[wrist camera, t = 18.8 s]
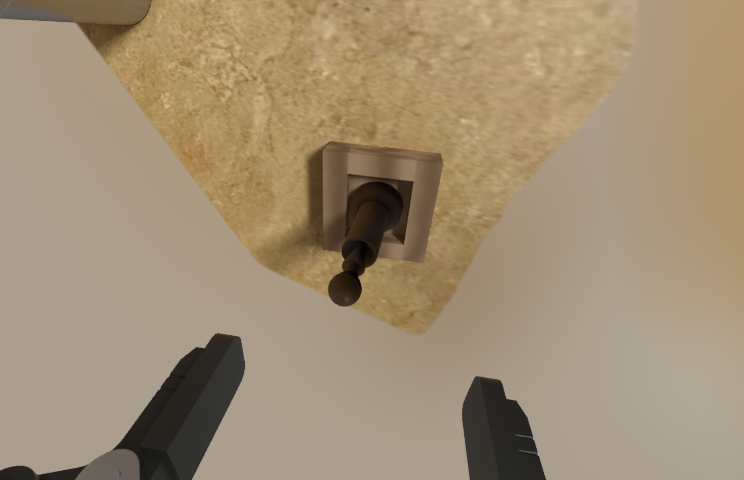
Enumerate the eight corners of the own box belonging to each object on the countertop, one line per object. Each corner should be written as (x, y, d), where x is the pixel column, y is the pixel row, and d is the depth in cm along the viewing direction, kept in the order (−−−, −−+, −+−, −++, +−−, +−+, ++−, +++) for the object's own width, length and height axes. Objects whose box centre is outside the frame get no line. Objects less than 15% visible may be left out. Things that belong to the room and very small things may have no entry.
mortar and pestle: (364, 228, 45) (323, 328, 31) (346, 188, 42) (291, 278, 28) (409, 218, 43) (388, 321, 29) (393, 174, 40) (360, 265, 26)
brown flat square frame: (330, 233, 49) (323, 249, 45) (331, 140, 41) (322, 150, 38) (422, 245, 48) (423, 262, 44) (440, 152, 41) (443, 163, 37)
